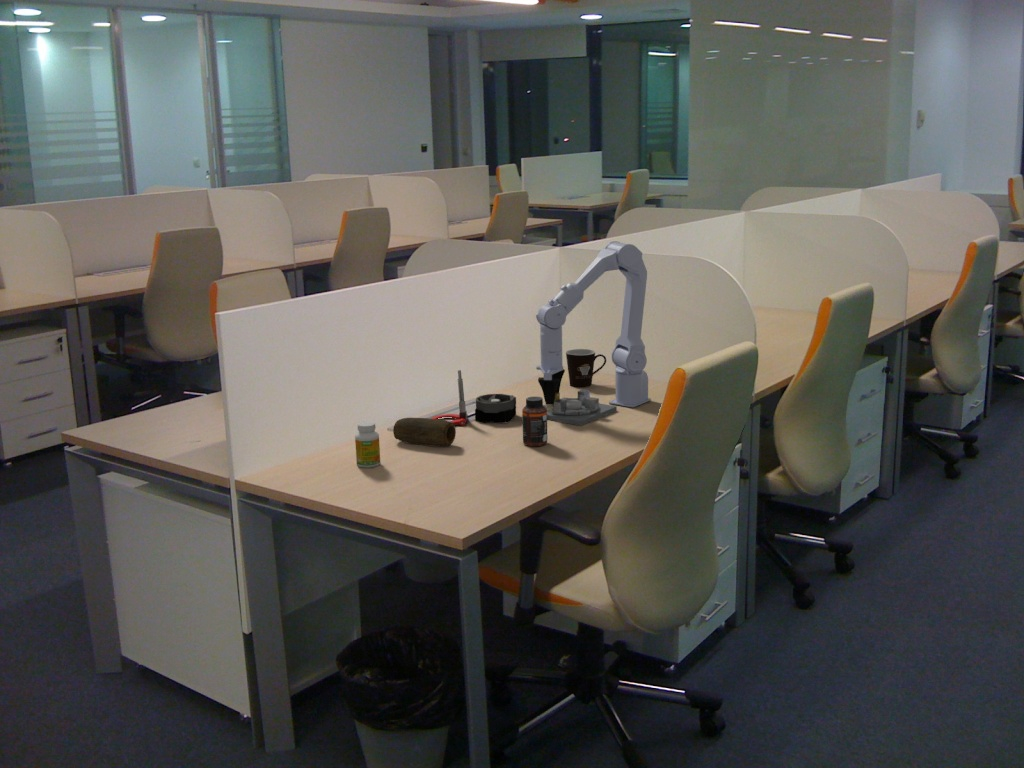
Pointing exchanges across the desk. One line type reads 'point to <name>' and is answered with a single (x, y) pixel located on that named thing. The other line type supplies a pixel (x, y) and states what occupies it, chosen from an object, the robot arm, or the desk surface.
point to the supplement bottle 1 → (367, 445)
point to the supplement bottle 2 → (534, 422)
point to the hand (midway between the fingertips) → (552, 400)
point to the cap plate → (580, 419)
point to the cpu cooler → (495, 408)
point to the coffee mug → (581, 367)
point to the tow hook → (463, 413)
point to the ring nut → (583, 396)
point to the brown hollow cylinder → (425, 431)
